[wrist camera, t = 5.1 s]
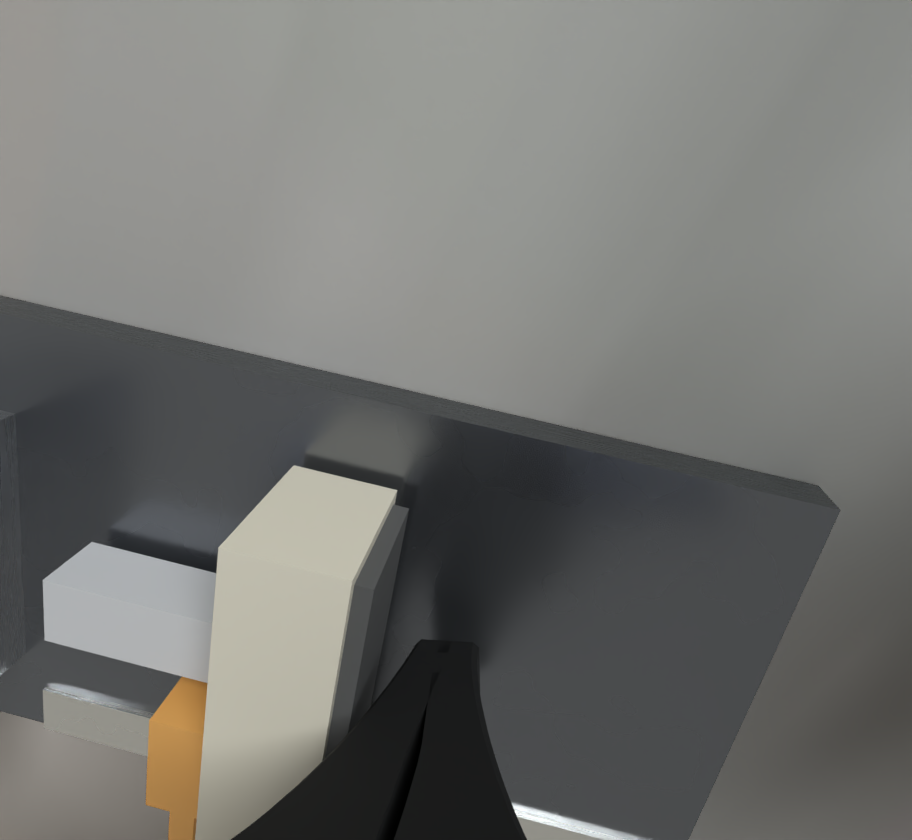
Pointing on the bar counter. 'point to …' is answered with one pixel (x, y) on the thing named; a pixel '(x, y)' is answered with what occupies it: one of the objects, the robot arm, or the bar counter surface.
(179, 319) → the bar counter surface
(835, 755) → the bar counter surface
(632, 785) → the plate
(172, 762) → the orange stepped block
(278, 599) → the cream and grey block
